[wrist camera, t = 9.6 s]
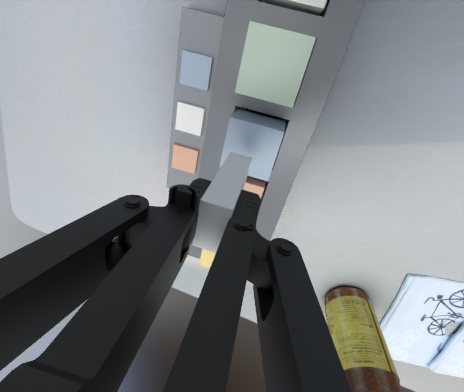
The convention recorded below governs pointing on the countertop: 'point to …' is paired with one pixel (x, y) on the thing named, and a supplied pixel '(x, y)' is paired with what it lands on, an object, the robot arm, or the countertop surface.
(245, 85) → the key sage
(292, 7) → the key white
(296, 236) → the countertop surface
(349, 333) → the sauce bottle
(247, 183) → the key terracotta
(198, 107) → the keypad
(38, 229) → the countertop surface
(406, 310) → the folded patterned cloth
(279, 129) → the key slate
